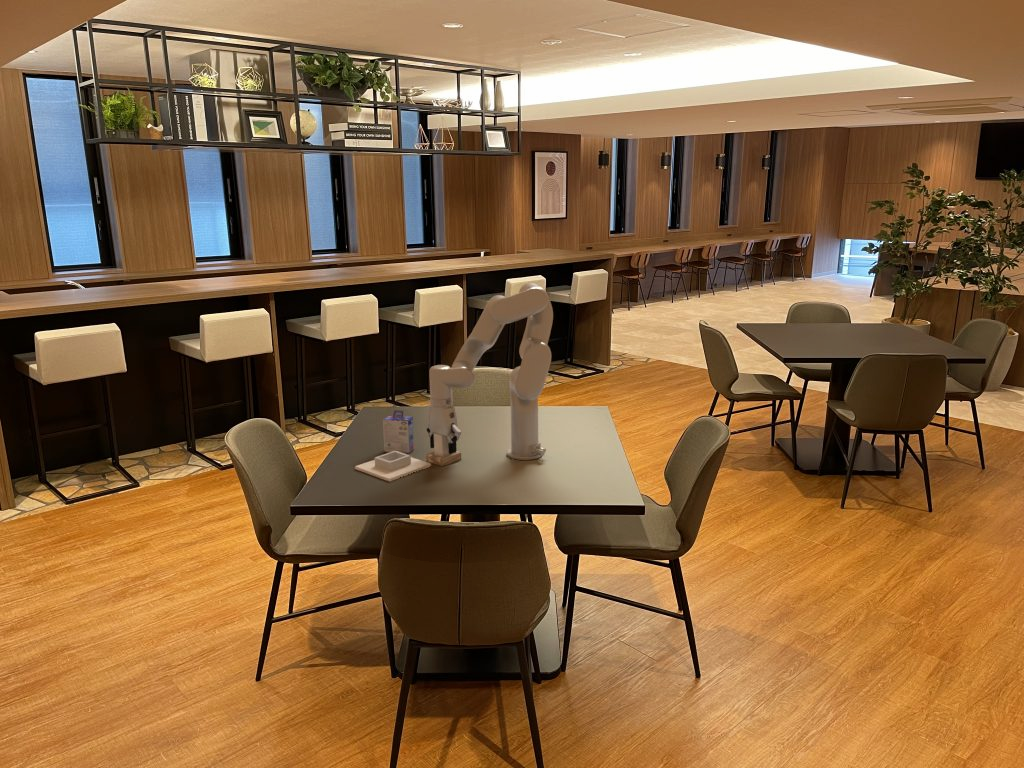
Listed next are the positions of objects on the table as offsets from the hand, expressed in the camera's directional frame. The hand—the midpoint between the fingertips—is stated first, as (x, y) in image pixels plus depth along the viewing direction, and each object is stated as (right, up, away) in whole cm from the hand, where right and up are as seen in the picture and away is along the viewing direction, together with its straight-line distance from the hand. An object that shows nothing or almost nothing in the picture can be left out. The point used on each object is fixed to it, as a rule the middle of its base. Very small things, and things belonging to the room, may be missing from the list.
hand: (443, 449), depth 267 cm
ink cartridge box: (-17, -1, +12) cm, 21 cm away
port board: (-16, -6, -5) cm, 18 cm away
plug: (0, -4, +1) cm, 4 cm away
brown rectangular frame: (0, -4, +1) cm, 4 cm away
